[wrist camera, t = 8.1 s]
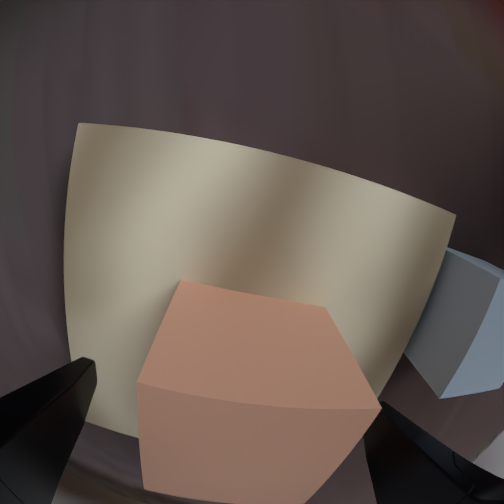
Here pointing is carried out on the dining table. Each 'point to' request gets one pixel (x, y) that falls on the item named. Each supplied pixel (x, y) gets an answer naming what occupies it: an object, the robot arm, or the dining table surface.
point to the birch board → (232, 249)
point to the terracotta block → (247, 399)
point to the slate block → (461, 328)
